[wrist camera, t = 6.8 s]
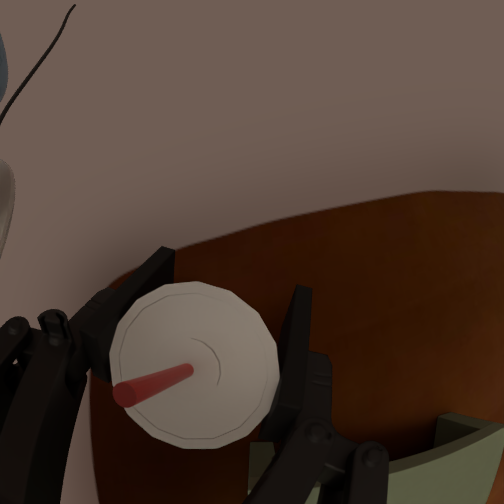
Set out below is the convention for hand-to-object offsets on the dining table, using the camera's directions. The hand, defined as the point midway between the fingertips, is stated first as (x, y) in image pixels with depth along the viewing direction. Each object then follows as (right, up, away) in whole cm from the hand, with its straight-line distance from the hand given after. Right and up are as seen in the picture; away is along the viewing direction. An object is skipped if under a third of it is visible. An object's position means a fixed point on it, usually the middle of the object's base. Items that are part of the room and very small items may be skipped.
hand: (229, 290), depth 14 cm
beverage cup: (-1, -5, +4) cm, 6 cm away
